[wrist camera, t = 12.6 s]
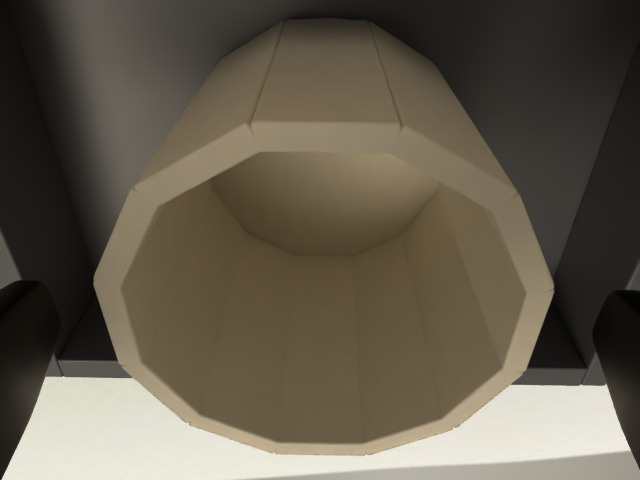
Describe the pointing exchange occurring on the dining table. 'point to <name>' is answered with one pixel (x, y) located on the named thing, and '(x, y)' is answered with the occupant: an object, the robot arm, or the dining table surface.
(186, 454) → the dining table surface
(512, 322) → the pot
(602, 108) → the sink
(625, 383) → the robot arm
